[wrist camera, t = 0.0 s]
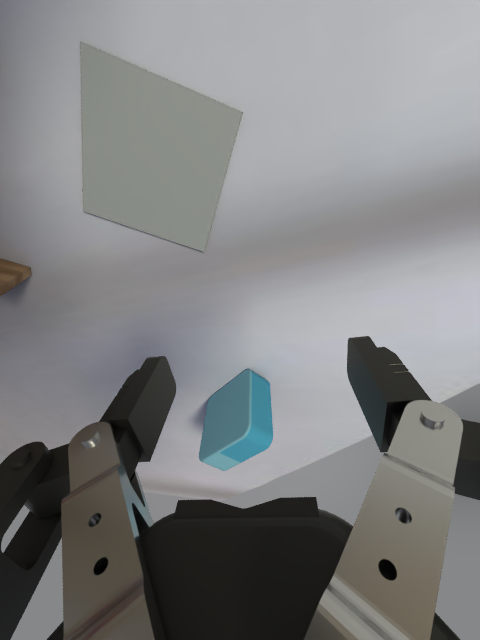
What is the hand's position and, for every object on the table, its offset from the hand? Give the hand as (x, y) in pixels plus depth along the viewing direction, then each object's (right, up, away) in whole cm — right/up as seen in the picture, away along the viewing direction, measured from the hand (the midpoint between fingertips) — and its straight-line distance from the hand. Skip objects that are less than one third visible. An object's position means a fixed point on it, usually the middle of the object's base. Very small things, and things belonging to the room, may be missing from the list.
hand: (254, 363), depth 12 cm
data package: (-1, -10, +36) cm, 37 cm away
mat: (-9, +18, +15) cm, 25 cm away
